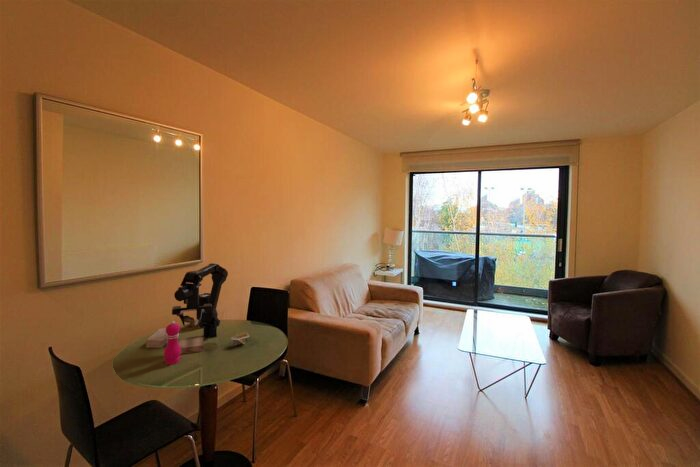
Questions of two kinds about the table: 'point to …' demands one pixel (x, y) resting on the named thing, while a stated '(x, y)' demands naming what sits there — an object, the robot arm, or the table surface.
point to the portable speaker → (202, 304)
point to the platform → (240, 338)
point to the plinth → (191, 344)
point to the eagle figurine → (191, 321)
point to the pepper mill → (172, 344)
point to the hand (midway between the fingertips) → (192, 324)
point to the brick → (157, 339)
